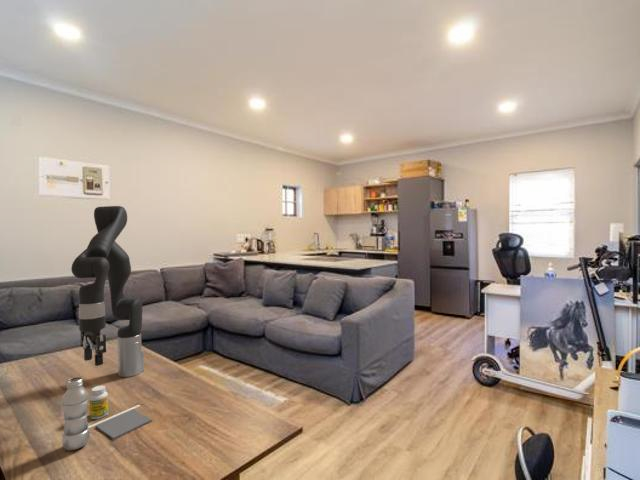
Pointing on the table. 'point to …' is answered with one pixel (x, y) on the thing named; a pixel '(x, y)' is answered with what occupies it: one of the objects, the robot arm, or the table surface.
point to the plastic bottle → (75, 415)
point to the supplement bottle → (98, 402)
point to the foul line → (113, 416)
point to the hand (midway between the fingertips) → (93, 362)
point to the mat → (123, 424)
